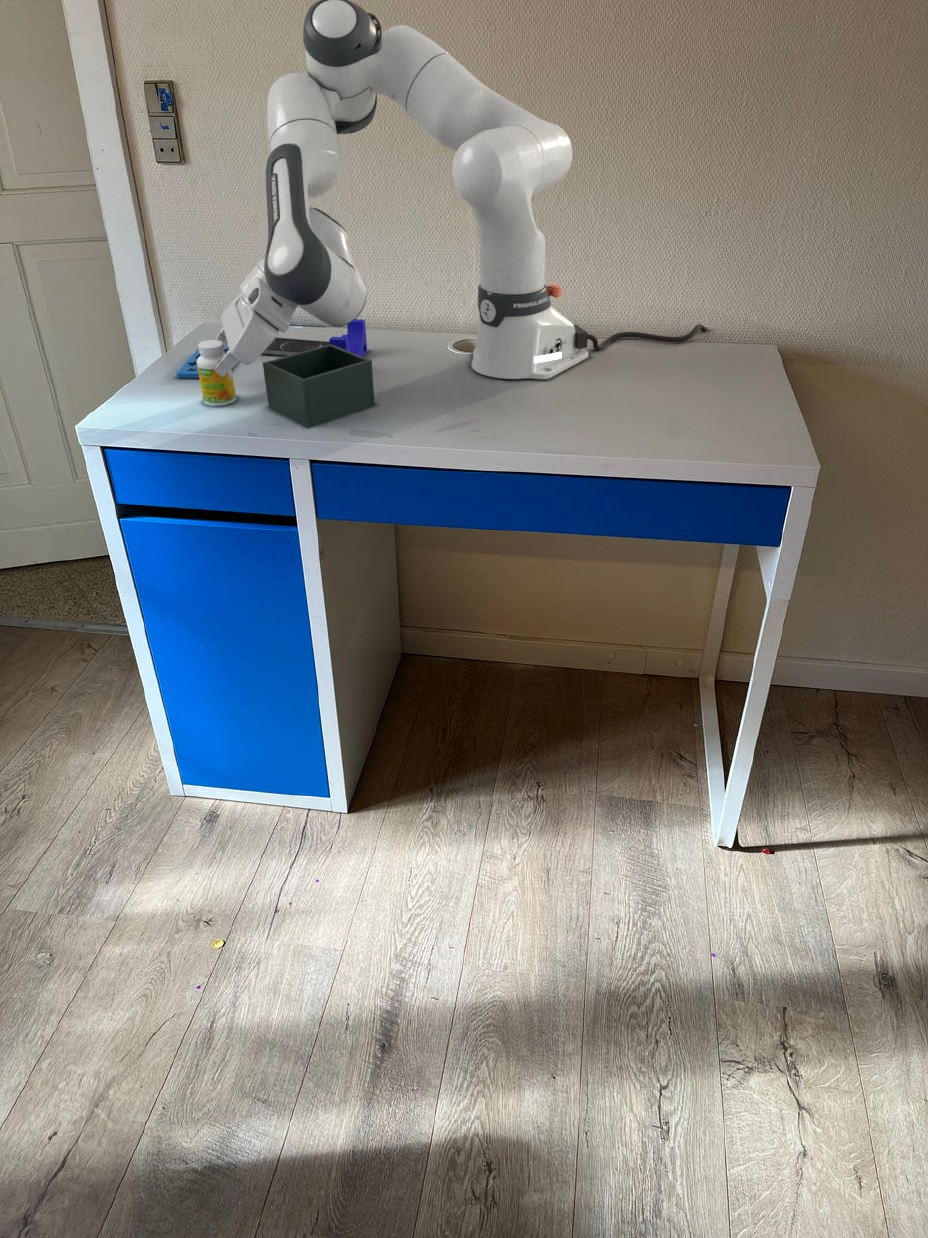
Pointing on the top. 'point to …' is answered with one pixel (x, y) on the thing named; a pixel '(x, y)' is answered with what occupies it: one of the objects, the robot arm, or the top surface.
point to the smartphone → (292, 346)
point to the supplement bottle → (214, 375)
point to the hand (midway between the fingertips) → (215, 363)
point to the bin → (319, 384)
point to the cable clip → (353, 338)
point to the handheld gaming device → (192, 366)
